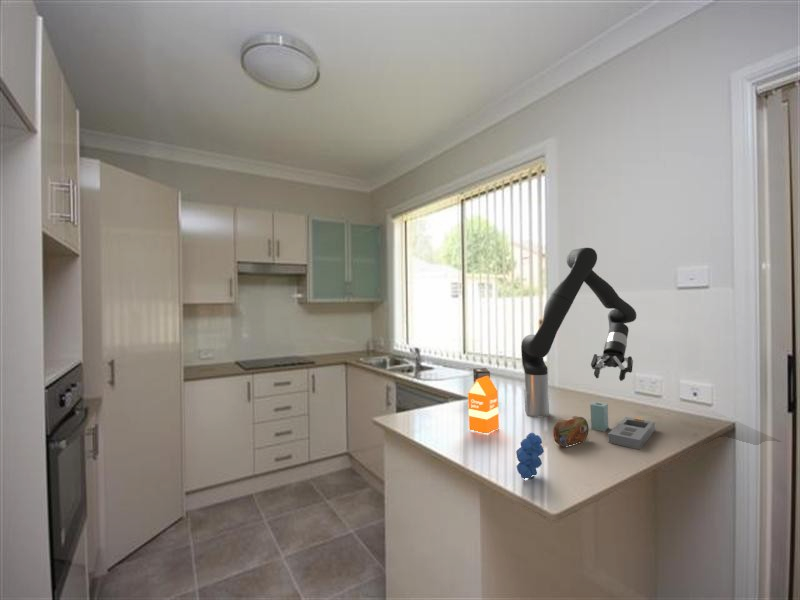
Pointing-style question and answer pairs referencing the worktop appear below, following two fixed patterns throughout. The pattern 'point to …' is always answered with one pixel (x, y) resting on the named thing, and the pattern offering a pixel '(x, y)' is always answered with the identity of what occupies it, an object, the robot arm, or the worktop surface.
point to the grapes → (529, 455)
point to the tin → (570, 431)
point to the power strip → (631, 432)
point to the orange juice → (483, 406)
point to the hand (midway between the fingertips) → (608, 378)
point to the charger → (599, 416)
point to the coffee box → (480, 373)
